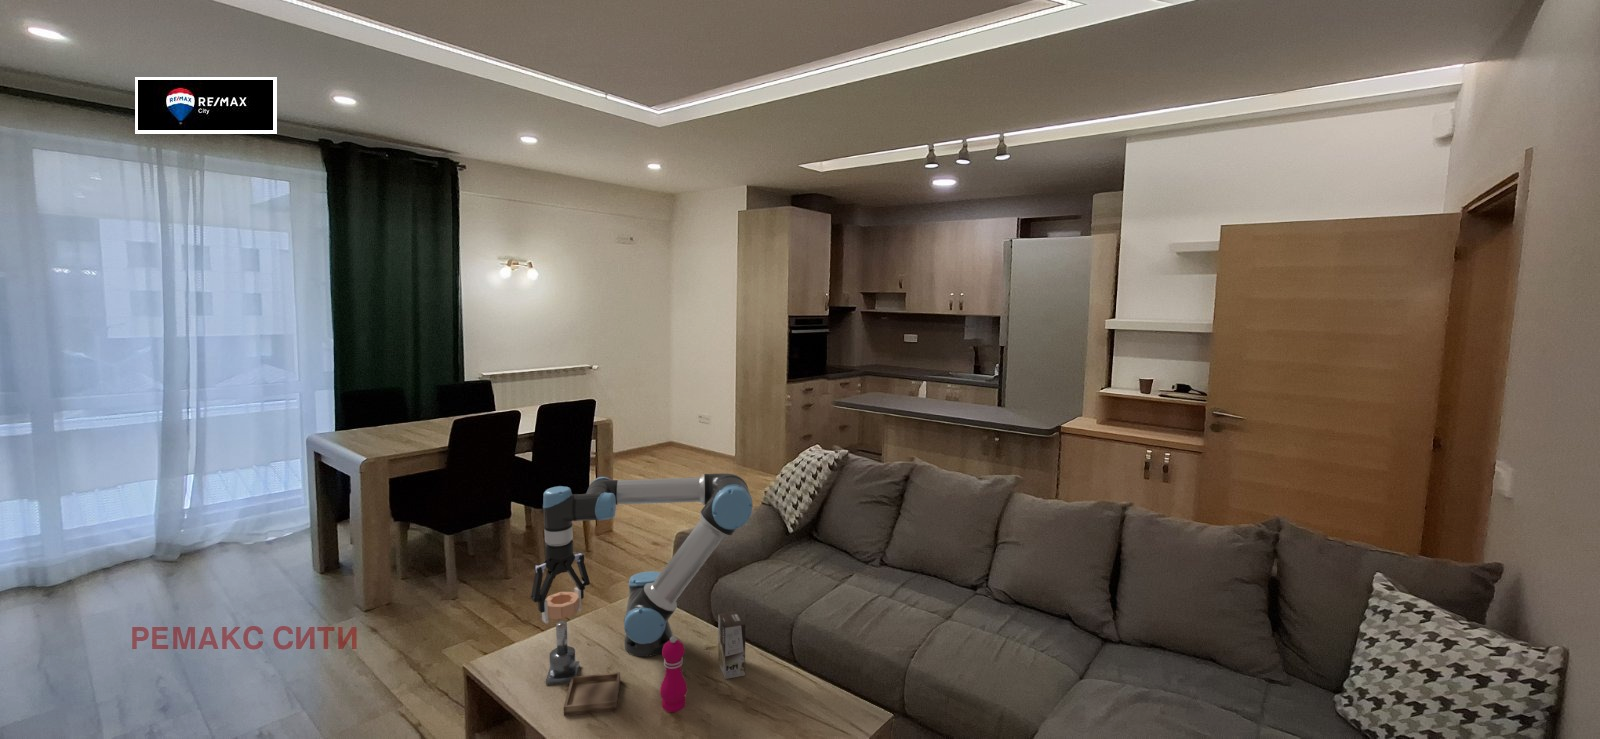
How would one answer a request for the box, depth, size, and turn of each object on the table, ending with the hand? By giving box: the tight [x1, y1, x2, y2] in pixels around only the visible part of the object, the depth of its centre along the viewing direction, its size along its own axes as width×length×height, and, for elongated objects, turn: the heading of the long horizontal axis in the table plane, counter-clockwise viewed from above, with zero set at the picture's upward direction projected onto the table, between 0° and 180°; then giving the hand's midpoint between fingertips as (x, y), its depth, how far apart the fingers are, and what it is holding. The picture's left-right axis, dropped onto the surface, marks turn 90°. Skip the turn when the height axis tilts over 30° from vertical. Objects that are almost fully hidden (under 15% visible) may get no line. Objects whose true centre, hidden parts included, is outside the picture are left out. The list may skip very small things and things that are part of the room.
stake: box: [545, 620, 580, 686], centre depth 185 cm, size 8×8×16 cm
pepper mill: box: [659, 635, 688, 713], centre depth 172 cm, size 7×7×20 cm
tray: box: [563, 671, 621, 716], centre depth 176 cm, size 13×13×2 cm
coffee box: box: [717, 610, 746, 680], centre depth 189 cm, size 9×6×16 cm
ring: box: [546, 591, 579, 620], centre depth 183 cm, size 9×9×4 cm
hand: (562, 615), depth 184 cm, fingers closed on ring, 9 cm apart
